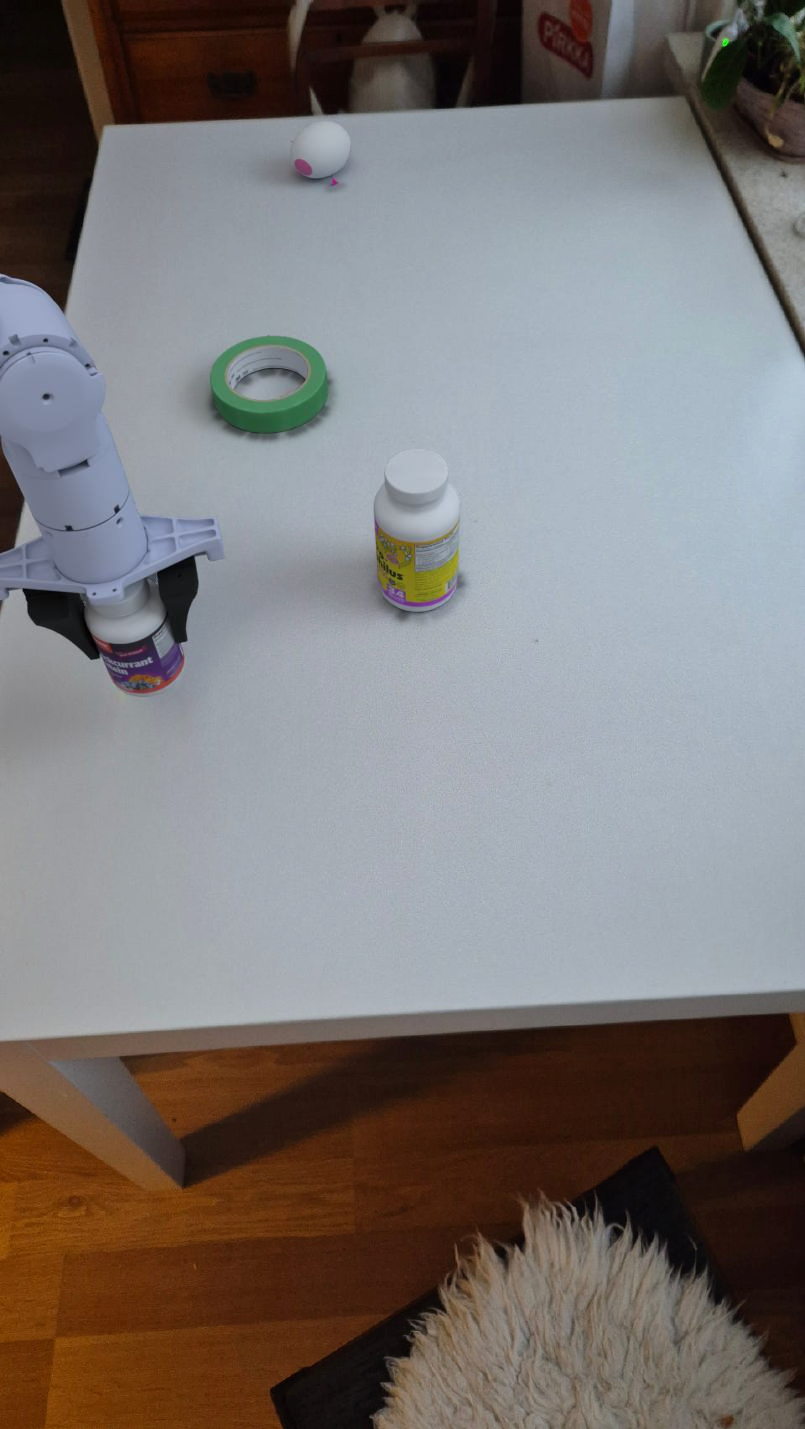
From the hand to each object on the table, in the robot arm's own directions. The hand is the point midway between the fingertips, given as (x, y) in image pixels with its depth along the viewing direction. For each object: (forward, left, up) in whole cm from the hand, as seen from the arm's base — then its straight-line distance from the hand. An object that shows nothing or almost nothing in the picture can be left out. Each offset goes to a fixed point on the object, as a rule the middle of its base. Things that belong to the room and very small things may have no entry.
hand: (137, 640), depth 69 cm
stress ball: (+26, +73, -10) cm, 78 cm away
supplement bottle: (+22, +8, -10) cm, 25 cm away
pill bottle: (0, 0, -4) cm, 4 cm away
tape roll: (+14, +35, -10) cm, 39 cm away
